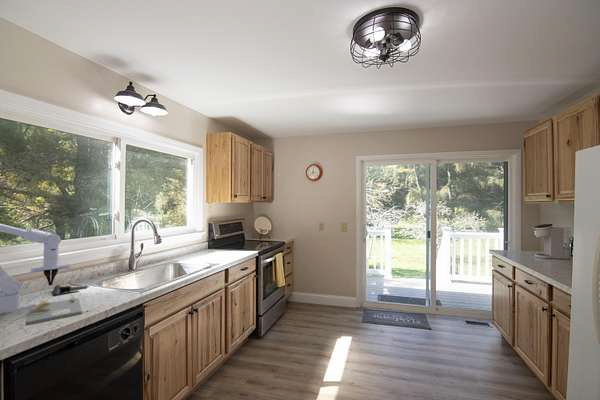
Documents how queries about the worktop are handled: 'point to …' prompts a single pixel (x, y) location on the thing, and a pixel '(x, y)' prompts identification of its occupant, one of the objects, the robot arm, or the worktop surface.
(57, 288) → the door handle
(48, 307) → the birch block
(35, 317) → the slate board
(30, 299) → the worktop surface
